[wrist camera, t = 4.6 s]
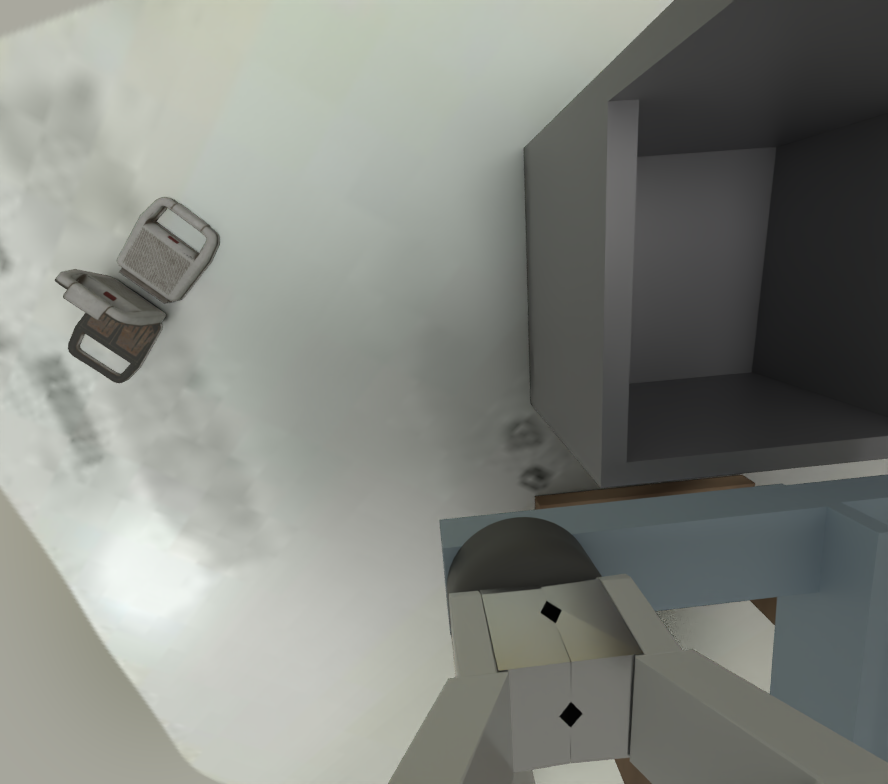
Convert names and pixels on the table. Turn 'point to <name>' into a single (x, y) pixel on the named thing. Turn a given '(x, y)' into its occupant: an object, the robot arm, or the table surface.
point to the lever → (726, 575)
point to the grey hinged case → (149, 266)
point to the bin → (717, 246)
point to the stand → (630, 774)
